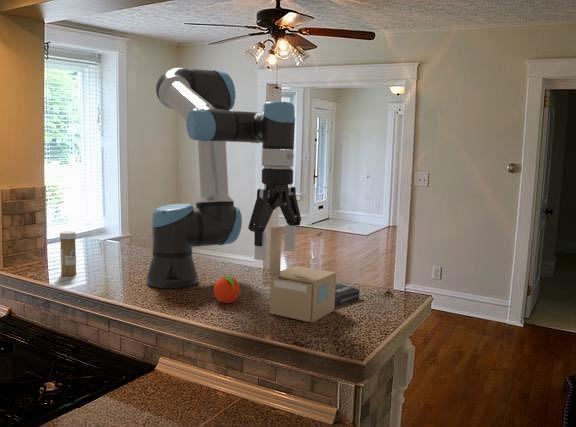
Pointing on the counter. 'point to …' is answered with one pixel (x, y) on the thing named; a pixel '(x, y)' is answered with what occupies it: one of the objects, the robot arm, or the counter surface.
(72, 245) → the sprinkles bottle
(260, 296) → the counter surface
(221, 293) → the clementine
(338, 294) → the box
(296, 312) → the tan tapered piece
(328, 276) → the carton
